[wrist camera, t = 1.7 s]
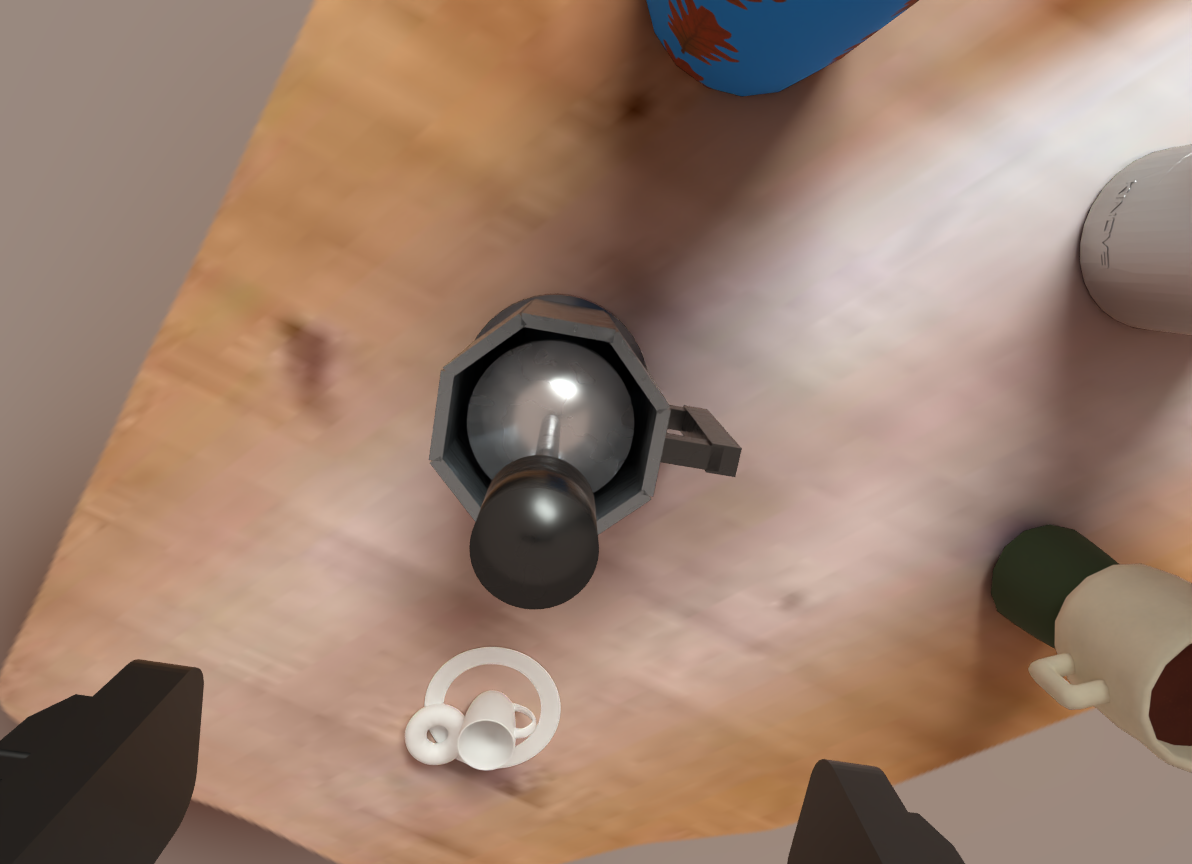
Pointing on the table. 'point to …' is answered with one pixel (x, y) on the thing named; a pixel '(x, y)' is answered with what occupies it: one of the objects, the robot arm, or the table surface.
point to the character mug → (1105, 634)
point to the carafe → (612, 341)
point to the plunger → (544, 467)
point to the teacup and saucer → (483, 716)
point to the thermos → (764, 37)
